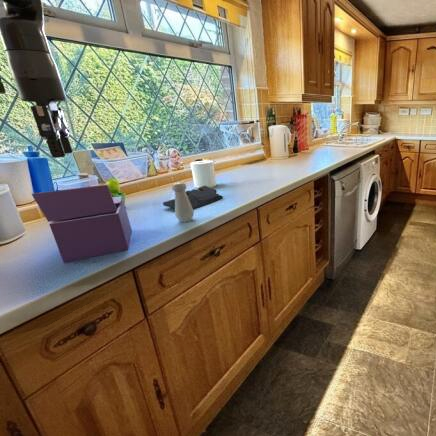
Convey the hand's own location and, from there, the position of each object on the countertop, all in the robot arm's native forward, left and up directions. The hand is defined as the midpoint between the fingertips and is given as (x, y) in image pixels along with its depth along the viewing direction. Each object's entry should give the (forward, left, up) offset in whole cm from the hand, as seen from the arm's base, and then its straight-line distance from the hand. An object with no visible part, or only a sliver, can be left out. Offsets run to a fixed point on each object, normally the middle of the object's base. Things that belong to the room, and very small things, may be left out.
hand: (63, 155), depth 69 cm
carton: (0, +10, -26) cm, 28 cm away
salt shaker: (+23, +19, -27) cm, 40 cm away
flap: (0, 0, -11) cm, 11 cm away
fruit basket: (-1, +55, -27) cm, 61 cm away
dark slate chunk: (+28, +41, -27) cm, 56 cm away
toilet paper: (+37, +70, -27) cm, 83 cm away
